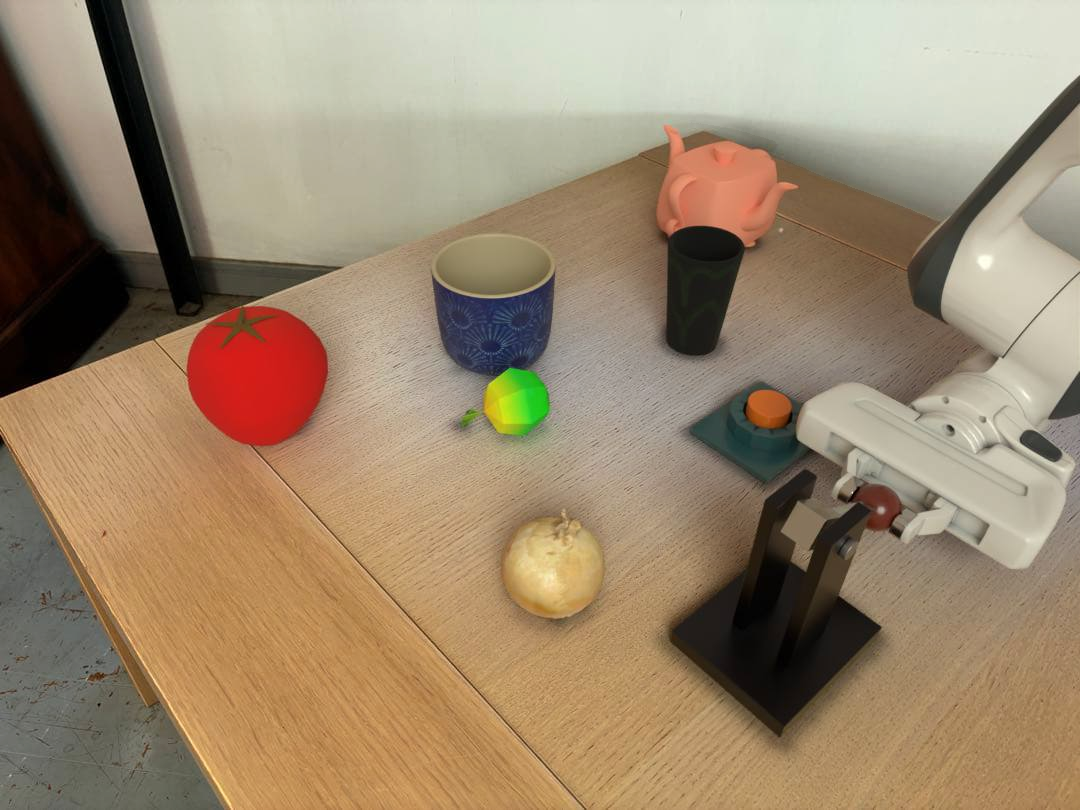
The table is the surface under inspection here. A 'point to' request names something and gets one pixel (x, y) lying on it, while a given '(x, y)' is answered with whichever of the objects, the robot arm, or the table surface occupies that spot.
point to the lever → (817, 516)
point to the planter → (494, 301)
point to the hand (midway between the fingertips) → (869, 514)
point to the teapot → (719, 189)
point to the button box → (752, 437)
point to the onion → (553, 566)
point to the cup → (700, 286)
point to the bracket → (783, 616)
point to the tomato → (257, 374)
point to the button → (768, 409)
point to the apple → (514, 402)
